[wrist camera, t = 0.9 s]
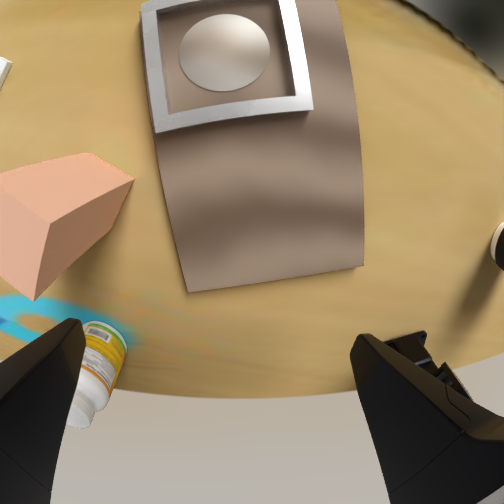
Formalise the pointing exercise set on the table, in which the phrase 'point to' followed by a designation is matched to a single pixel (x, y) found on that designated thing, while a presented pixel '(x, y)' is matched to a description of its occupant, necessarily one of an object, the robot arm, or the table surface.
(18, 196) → the terracotta pin
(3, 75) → the external hard drive
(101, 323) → the supplement bottle
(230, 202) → the board
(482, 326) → the table surface
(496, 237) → the dixie cup
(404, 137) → the table surface
